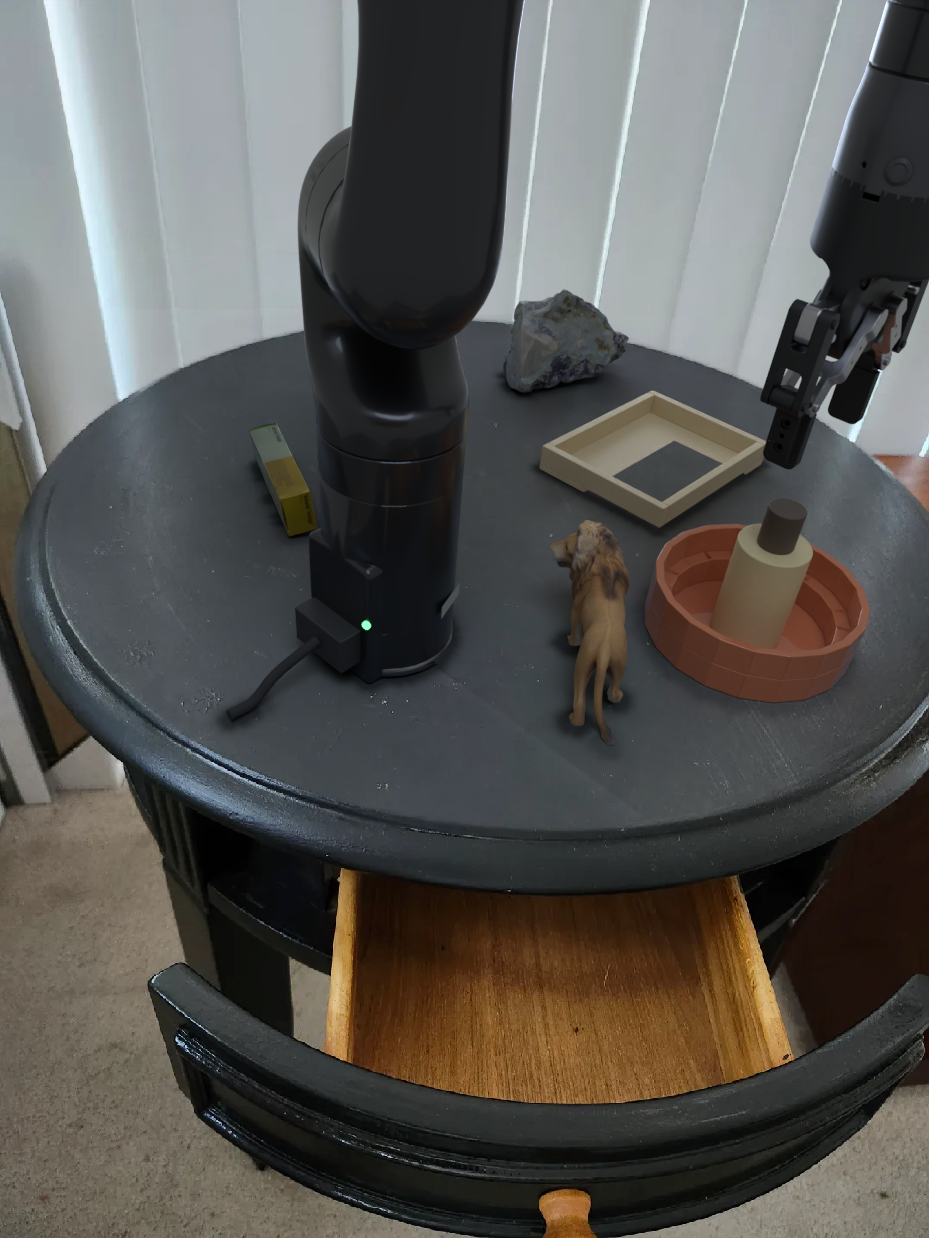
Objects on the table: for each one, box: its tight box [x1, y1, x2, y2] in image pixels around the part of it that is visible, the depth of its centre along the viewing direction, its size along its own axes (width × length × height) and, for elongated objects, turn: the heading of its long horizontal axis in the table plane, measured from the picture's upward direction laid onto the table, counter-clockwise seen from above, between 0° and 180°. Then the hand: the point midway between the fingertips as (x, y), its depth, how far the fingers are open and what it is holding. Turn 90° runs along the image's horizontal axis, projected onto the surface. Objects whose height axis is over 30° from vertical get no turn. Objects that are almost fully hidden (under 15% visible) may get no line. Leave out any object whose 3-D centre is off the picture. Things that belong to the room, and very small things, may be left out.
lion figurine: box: [549, 519, 630, 746], centre depth 63 cm, size 15×5×9 cm, turn 6°
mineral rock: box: [502, 288, 630, 393], centre depth 97 cm, size 13×11×10 cm
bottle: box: [711, 497, 813, 649], centre depth 66 cm, size 5×5×11 cm
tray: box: [538, 389, 766, 528], centre depth 87 cm, size 18×14×2 cm
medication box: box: [248, 422, 318, 537], centre depth 78 cm, size 12×3×4 cm, turn 22°
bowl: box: [644, 523, 871, 704], centre depth 69 cm, size 15×15×5 cm
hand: (812, 440), depth 59 cm, fingers open, 8 cm apart
